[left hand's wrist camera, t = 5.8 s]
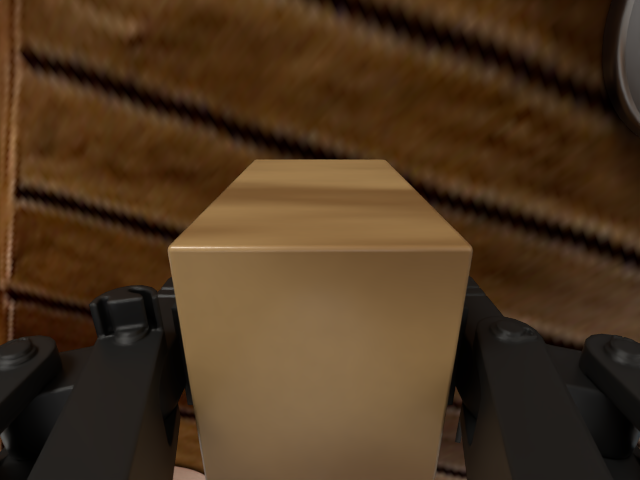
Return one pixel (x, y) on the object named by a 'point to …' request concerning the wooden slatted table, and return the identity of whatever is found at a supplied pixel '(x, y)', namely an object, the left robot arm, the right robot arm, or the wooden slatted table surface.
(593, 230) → the wooden slatted table surface
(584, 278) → the wooden slatted table surface
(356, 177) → the bar
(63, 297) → the wooden slatted table surface
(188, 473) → the anatomical model
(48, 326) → the wooden slatted table surface
